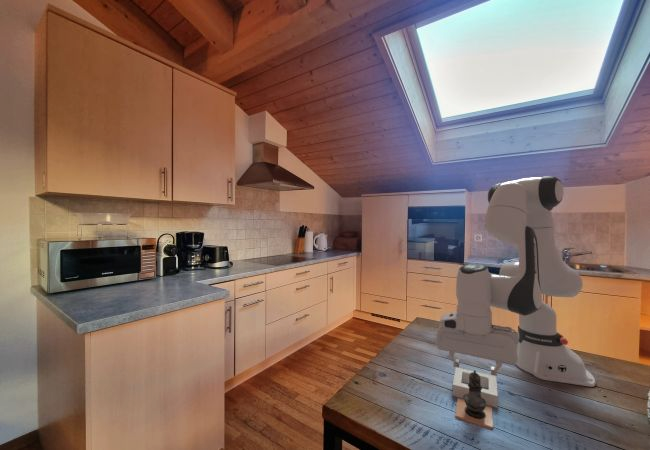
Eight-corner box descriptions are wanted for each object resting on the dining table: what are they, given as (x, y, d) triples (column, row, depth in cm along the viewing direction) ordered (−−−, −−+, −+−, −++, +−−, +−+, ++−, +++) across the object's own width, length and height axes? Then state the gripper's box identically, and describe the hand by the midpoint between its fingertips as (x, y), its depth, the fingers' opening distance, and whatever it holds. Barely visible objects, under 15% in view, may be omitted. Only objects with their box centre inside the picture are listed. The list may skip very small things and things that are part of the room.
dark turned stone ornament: (459, 411, 77) (459, 369, 77) (468, 402, 81) (468, 362, 81) (482, 423, 73) (482, 378, 73) (490, 413, 77) (489, 370, 77)
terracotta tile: (492, 409, 79) (492, 407, 79) (493, 429, 72) (493, 427, 72) (457, 399, 84) (457, 397, 84) (455, 417, 76) (455, 415, 76)
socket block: (496, 386, 90) (496, 376, 90) (497, 408, 80) (497, 396, 80) (456, 377, 96) (455, 367, 96) (452, 395, 86) (452, 384, 86)
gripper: (516, 324, 75) (517, 374, 75) (437, 313, 86) (438, 357, 86) (519, 332, 70) (520, 386, 70) (434, 320, 80) (435, 366, 80)
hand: (474, 370), depth 78 cm, fingers open, 8 cm apart
